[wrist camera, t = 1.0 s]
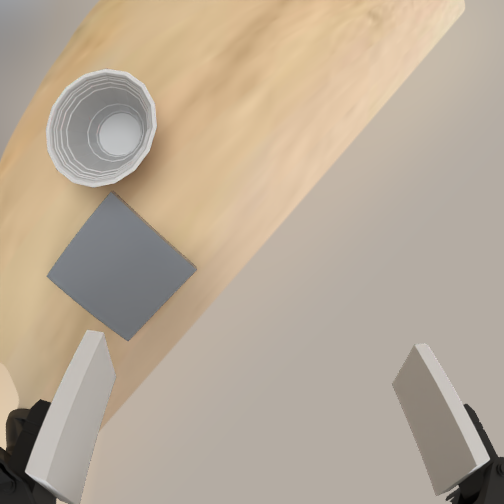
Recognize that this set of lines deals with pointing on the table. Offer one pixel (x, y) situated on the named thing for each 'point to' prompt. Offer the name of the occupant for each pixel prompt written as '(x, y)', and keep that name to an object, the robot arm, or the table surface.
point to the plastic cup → (101, 127)
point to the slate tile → (120, 268)
